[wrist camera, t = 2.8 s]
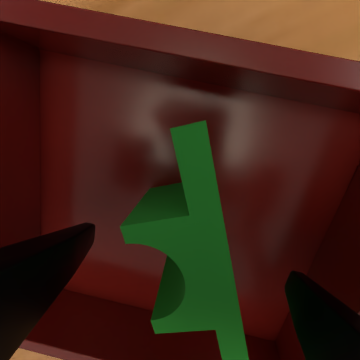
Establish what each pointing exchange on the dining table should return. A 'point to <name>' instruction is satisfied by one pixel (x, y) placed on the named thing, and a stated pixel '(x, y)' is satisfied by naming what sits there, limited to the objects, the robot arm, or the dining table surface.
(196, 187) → the pipe clamp
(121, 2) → the dining table surface
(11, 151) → the open red box
